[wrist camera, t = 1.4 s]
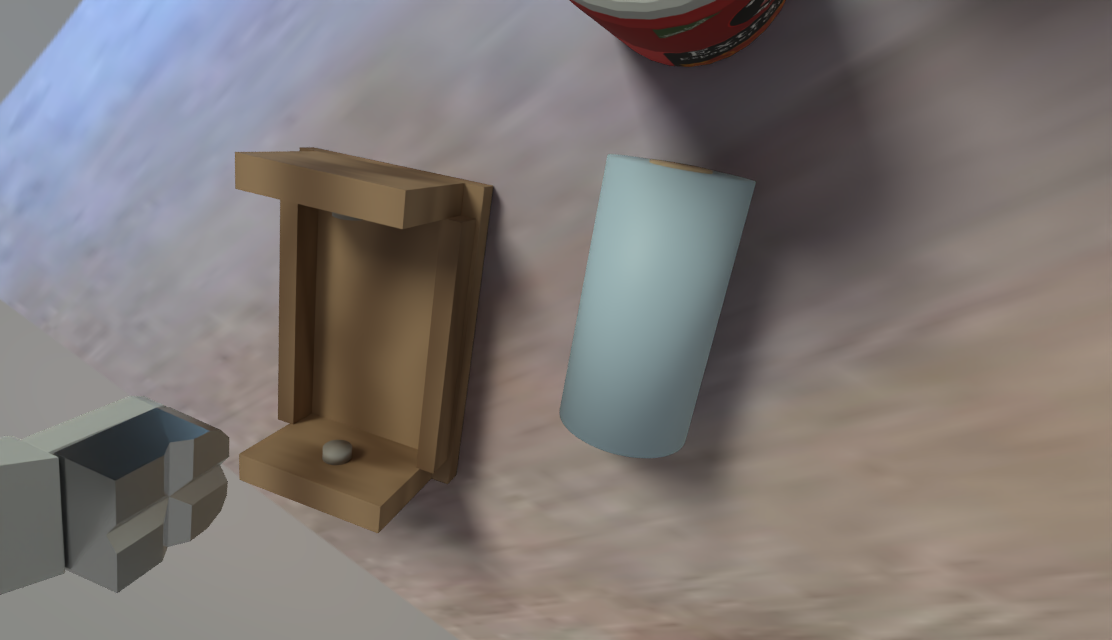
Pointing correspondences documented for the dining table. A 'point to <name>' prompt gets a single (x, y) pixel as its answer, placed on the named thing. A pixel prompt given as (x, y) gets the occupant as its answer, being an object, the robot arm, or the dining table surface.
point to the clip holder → (368, 328)
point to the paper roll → (651, 302)
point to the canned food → (683, 26)
